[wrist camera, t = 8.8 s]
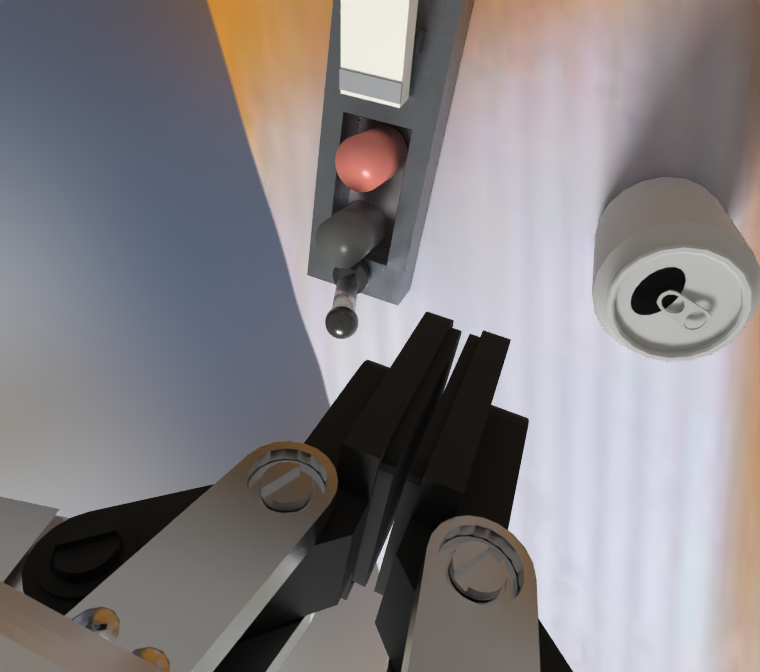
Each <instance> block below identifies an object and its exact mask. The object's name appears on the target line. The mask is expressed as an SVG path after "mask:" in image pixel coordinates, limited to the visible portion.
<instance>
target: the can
mask: <svg viewBox="0 0 760 672" xmlns="http://www.w3.org/2000/svg"><path fill="white" fill-rule="evenodd" d="M592 295H593V303H594V311H595V314H596V316H597V318H598V320H599V321H600V323H601V325H602V327H603V329H604V330H605V331H606V332H607V333H608V334H609V335H610V336H611V337H612V338H613V339H614V340H616V341H617V342H618V343H619V344H620V345H622V346H624V347H626V348H628V349H629V350H631V351H633V352H635V353H637V354H639V355H641V356H643V357H645V358H648V359H654V360H659V361H665V362H678V361H691V360H695V359H698V358H701V357H705V356H708V355H711V354H713V353H715V352H716V351H718V350H720V349H721V348H723V347H725V346H727V345H728V344H730V343H731V342H732V341H733V340H734V339H735V338H736V337H737V336H738V335H739V334H740V332H741V331H742V330H743V329H744V328H745V327H746V324H747V323H748V322H749V321H750V320H751V319H752V318H753V316H754V313H755V311H756V309H757V307H758V304H759V302H760V267H759V265H758V262H757V260H756V258H755V256H754V253H753V251H752V250H751V248H750V247H749V245H748V244H747V242H746V241H745V239H744V238H743V237H742V235H741V234H740V232H739V231H738V229H737V228H736V226H735V225H734V223H733V222H732V220H731V219H730V217H729V216H728V214H727V213H726V211H725V210H724V208H723V207H722V205H721V204H720V202H719V201H718V199H717V198H716V197H715V196H714V195H712V194H711V193H710V192H709V191H708V190H707V189H706V188H705V187H704V186H702V185H700V184H697V183H695V182H693V181H690V180H688V179H686V178H675V177H659V178H654V179H649V180H644V181H641V182H639V183H637V184H635V185H633V186H631V187H629V188H627V189H625V190H624V191H622V192H621V193H620V194H619V195H618V196H617V197H616V198H615V199H613V200H612V201H611V202H610V203H609V204H608V206H607V207H606V209H605V211H604V212H603V214H602V216H601V217H600V219H599V222H598V226H597V231H596V235H595V248H594V267H593V286H592Z"/></svg>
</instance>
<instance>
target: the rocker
mask: <svg viewBox="0 0 760 672" xmlns="http://www.w3.org/2000/svg"><path fill="white" fill-rule="evenodd" d="M417 7H418V0H341V68H340V69H339V89H340V90H341V94H345V95H349V96H353V97H357V98H361V99H365V100H369V101H373V102H377V103H381V104H385V105H389V106H393V107H397V108H400V107H401V106H402V105H403V104H404V103H405V102H406V101H407V99H408V97H409V87H410V77H411V67H412V57H413V47H414V37H415V27H416V17H417Z"/></svg>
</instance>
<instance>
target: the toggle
mask: <svg viewBox="0 0 760 672" xmlns="http://www.w3.org/2000/svg"><path fill="white" fill-rule="evenodd" d="M357 289H358V283H357V280H356V279H355V278H354V277H353V276H351V275H343V276H341V277H340V278H339V279H338V281H337V285H336V290H335V296H334V301H333V307H332V310H331V311H329V313H328V314H327V316H326V320H325V324H326V328H327V330H328V332H329V333H330V334H331V335H332V336H333V337H336V338H339V339H345V338H348V337H350V336H352V335H353V334H354V333H355V332H356V330H357V327H358V318H357V315H356V313H355V307H356V298H357Z"/></svg>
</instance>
